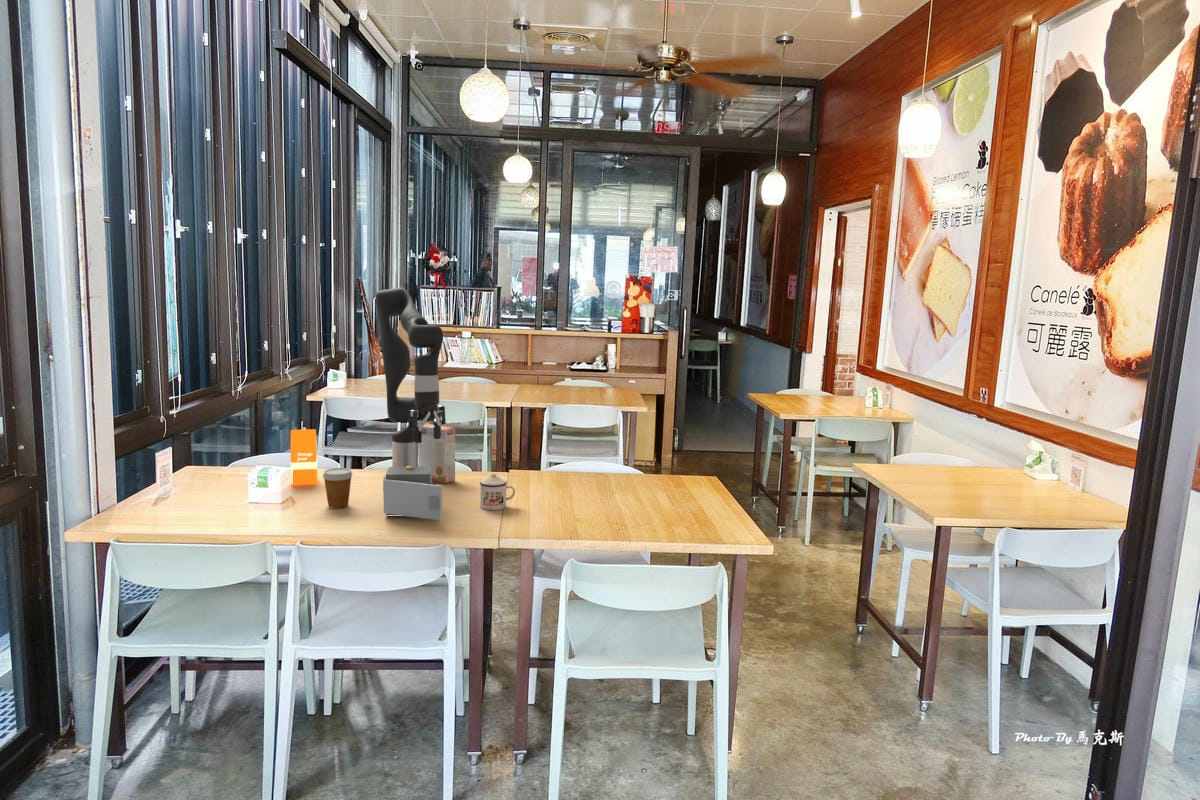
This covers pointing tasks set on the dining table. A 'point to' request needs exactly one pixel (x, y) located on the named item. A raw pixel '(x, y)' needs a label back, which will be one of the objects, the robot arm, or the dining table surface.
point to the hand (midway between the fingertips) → (427, 440)
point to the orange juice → (304, 457)
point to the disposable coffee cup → (337, 486)
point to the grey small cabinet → (410, 475)
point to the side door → (412, 499)
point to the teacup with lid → (494, 493)
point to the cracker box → (438, 453)
